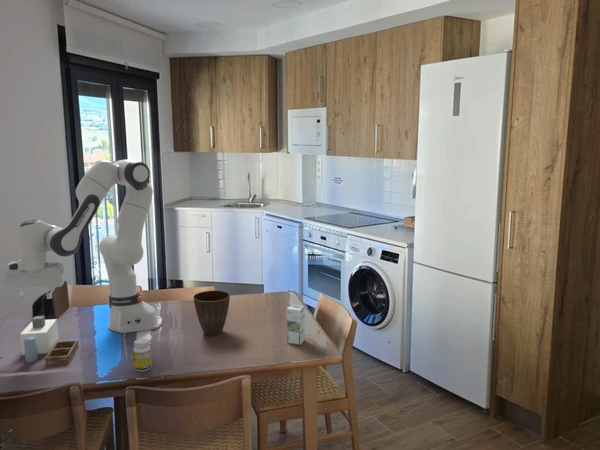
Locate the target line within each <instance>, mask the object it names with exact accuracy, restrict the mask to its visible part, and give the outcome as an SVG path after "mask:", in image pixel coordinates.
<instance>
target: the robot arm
mask: <svg viewBox="0 0 600 450" xmlns="http://www.w3.org/2000/svg"><path fill="white" fill-rule="evenodd" d="M150 178H151V170H150V168H149V166H148V165H147V164H146V163H144V162H143V161H140V160H137V159H135V160H134V159H130V158H129V159H126V158H125V159H117V160H114V161H109V160H106V159H101V160H98V161H97V162H96V163H94V164H93V166H91V167H90V168H89V169H88V170H87V172H86V173H85V174H84V175H83V177H82V178H81V179H80V181H79V182H78V184H77V186H76V188H75V196H76V199H77V200H78V206H77V207H78V208H77V209H76V211H75V213H74V214H73V216H72V218H71V219H70V221H69V222H68V224H67V225H65V227H62V226H58V225H53V224H49V223H46V222H45V221H44V220H41V219H37V218H36V219H30V220H25V221H23V222H22V223H21V224H20V225H19V227H18V235H17V236H18V239H17V240H18V247H19V250H20V252H19V259H16V260H13V261H10V262H9V263H8V264H7V265H6V266H5V268H6V269H5V270H6V271H5V273H4V280H3V281H4V283H3V284H4V288H6V289H7V290H15V292H16V294H17V295H18V296H19V300H20V301H22V300H23V301H24V300H25V299H26V294H25V293H23V292H22V290H23V289H39V288H40V289H41V288H48V291H50V290H51V291H50V293H48V292H46V293H47V294H46V295H47V299H51V298H52V292H53V290H54V289H55V287H61V286H62V285H63V284H64V281H65V277H64V265H63V264H62V263H60V262H58V261H56V262H48V261H47V252H53V253H54V254H56V255H57V256H59V257H71V256H74V255H75V254H76V253H77V252H78V251H79V249H80V247H81V244H82V239H83V236H84V235H85V231H87V229H88V227H89V226H90V223H91V222H92V220H93V218H94V217H95V215H96V214H97V212H98V210H99V207H100V206H101V204H102V203H103V200H104V199H105V197H106V196H107V195H108V193H109V191H110V190H111V189H112V188H113V186H114V185H119V186H120V185H121V186H125V196H124V199H123V201H122V204H121V207H120V210H119V213H118V215H117V219H116V222H117V227H118V228H117V234H116V235H115V234H113V235H108V236H104V238H102V239H101V241H100V242H99V245H98V247H99V252H100V254H101V256H102V258H103V262H104V265H105V269H106V273H107V276H108V285H109V295H108V306H109V309H110V311H109V319H108V320H109V321H108V325H107V329H108V330H110V331H113V332H117V333H119V334H126V333H127V334H128V333H134V332H140V331H141V332H143V331H148V330H157V329H159V328H160V327H161V326H162V324H163V318H162V317H160V316H158V314H157V311H156V309H155V307H154V306H152V305H150V304H148V303H147V302H145V301H144V300H143V294H142V292H138V289H137V288H138V285H137V274H136V273H135V271H134V269H133V266H135V265H137V264H138V263H140V262H141V261H142V259H143V257H144V249H143V243H142V239H143V231H144V225H145V222H146V219H147V216H148V213H149V210H150V207H151V203H152V199H153V191H154V190H153V188H152V186H151V185H150V182H151V180H150Z"/></svg>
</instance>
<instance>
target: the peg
mask: <svg viewBox="0 0 600 450" xmlns="http://www.w3.org/2000/svg"><path fill="white" fill-rule="evenodd" d="M24 348H25V356H24V357H25V358H24V359H25V363H35V362H37V361H38V360H39V355H38V352H37V341H36V337H29V338H26V339H24Z"/></svg>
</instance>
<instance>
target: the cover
mask: <svg viewBox="0 0 600 450" xmlns="http://www.w3.org/2000/svg"><path fill="white" fill-rule="evenodd" d="M31 320H32V321H31V322H30V323H29V324H28V325H27V326H26V327H25V328H24V329H23V330H22V331H21V333H19V337H20V346H21V347H20V348H21V354H22V355H25V348H24V339H26V338H29V337H36V341H37V352H38V354H42V355H45V354H44V353H49V351H50V350H51V348H52V347H53V346H54V344H55V343H56V341H57V340H58V339H59V338H60V337H59V329H58V328H59V327H58V326H59V325H58V318H57V319H50V320H45V316H35V317H34V318H33V317H32V319H31ZM59 340H60V339H59ZM59 340H58V341H59Z"/></svg>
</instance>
